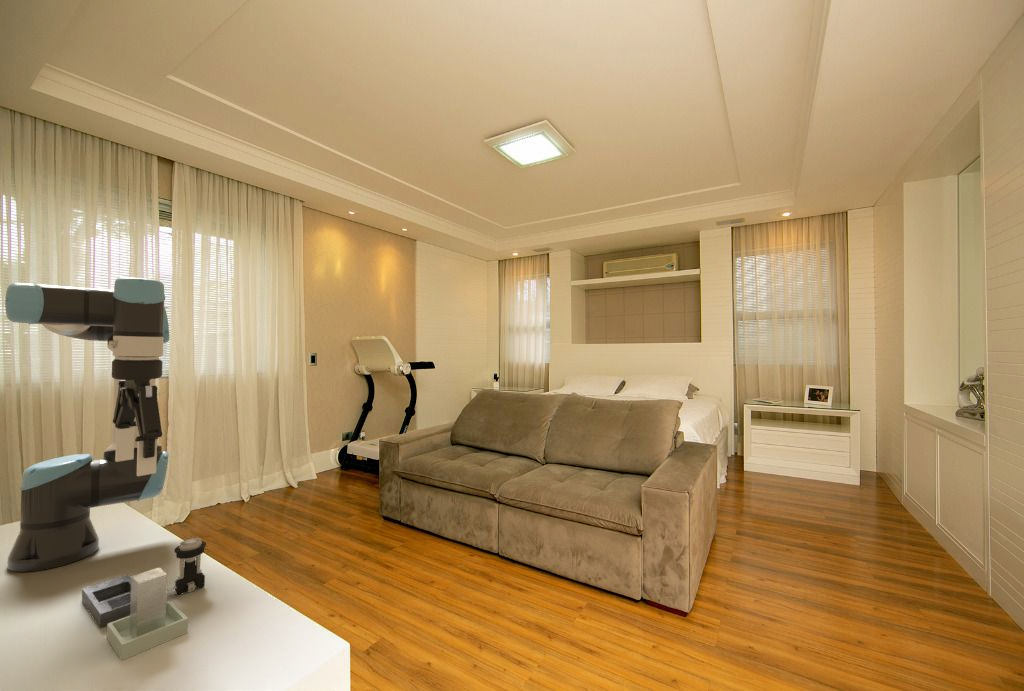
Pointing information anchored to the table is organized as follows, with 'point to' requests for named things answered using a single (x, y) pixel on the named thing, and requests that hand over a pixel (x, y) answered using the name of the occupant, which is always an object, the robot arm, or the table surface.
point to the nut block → (148, 602)
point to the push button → (189, 566)
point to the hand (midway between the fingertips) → (134, 467)
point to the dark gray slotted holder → (108, 600)
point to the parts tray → (128, 646)
